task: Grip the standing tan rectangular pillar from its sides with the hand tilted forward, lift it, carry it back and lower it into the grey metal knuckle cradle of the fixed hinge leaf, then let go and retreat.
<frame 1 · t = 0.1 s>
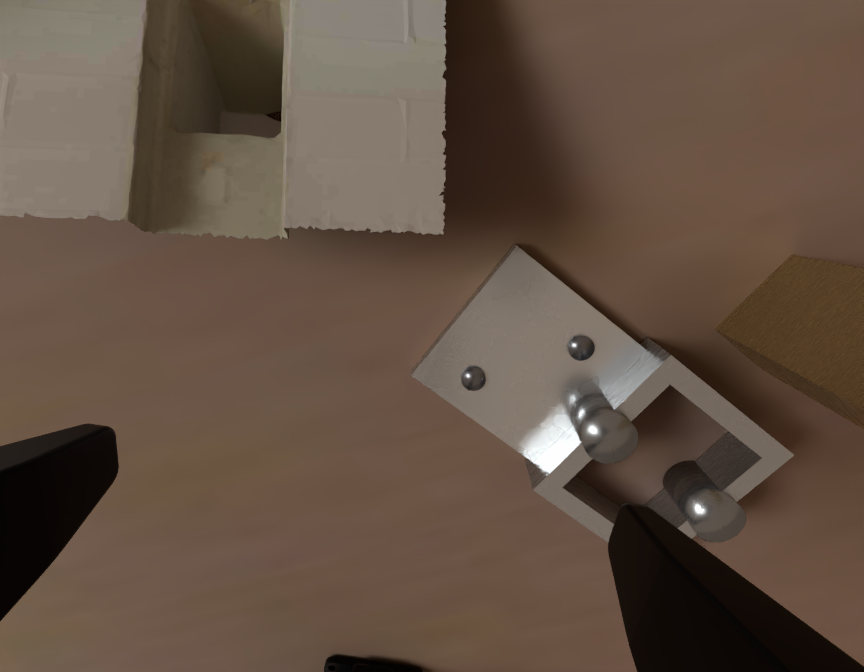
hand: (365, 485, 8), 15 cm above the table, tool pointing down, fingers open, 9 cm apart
wall: (262, 42, 19), on the table
tan rectangular pillar: (777, 315, 21), on the table
hinge base: (639, 444, 24), on the table
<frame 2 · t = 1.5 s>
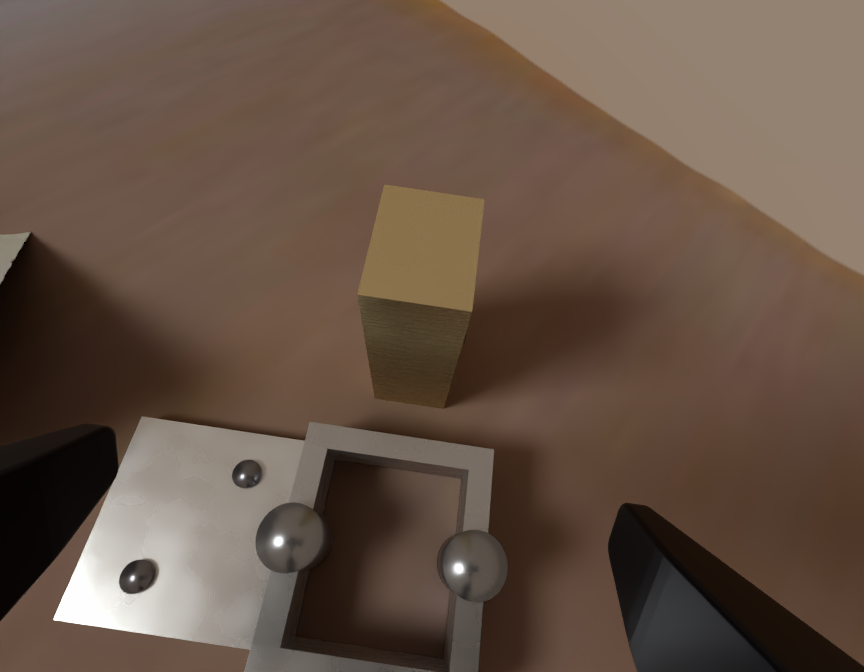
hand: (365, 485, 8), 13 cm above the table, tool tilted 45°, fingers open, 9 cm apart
tan rectangular pillar: (415, 362, 23), on the table
hinge base: (384, 551, 19), on the table
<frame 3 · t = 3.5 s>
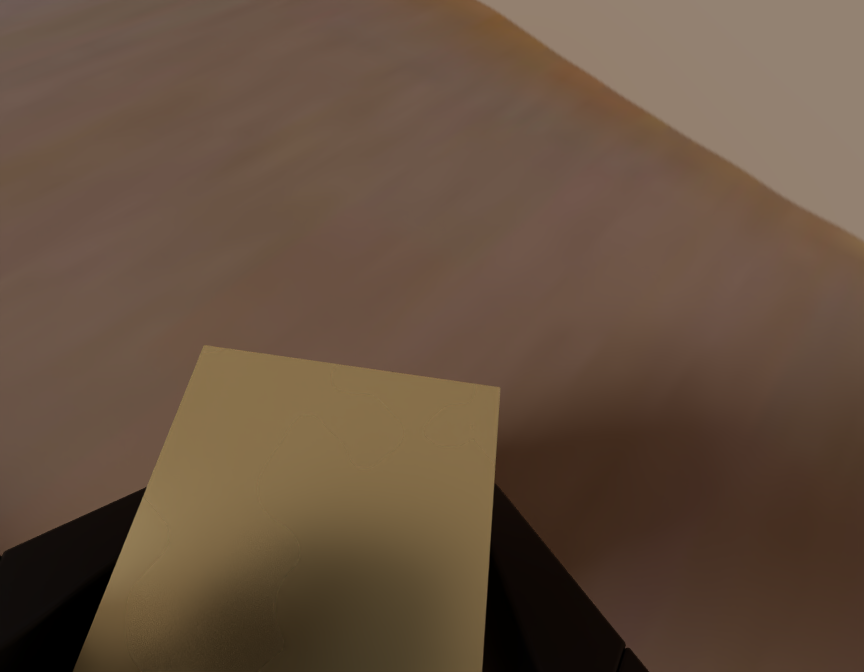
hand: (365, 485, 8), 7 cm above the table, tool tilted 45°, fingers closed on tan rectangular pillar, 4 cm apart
tan rectangular pillar: (371, 567, 13), on the table, touching gripper
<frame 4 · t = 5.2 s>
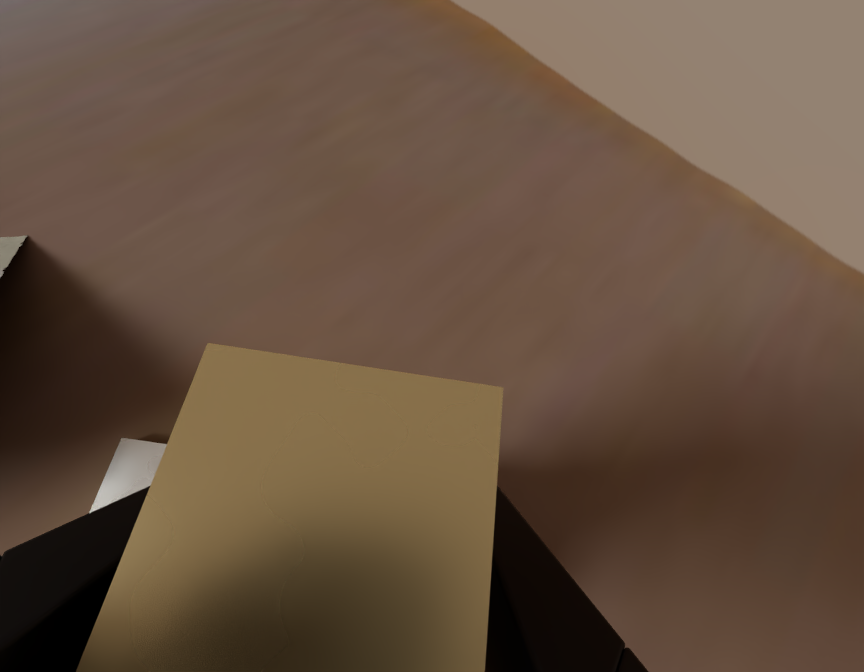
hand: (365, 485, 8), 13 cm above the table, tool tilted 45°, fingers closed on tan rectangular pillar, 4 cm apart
tan rectangular pillar: (368, 564, 13), point 6 cm above the table, touching gripper
hinge base: (377, 579, 19), on the table
when the fingers open (8 cm above the table, at t = 6.5 s): tan rectangular pillar drops 2 cm, resting in hinge base.
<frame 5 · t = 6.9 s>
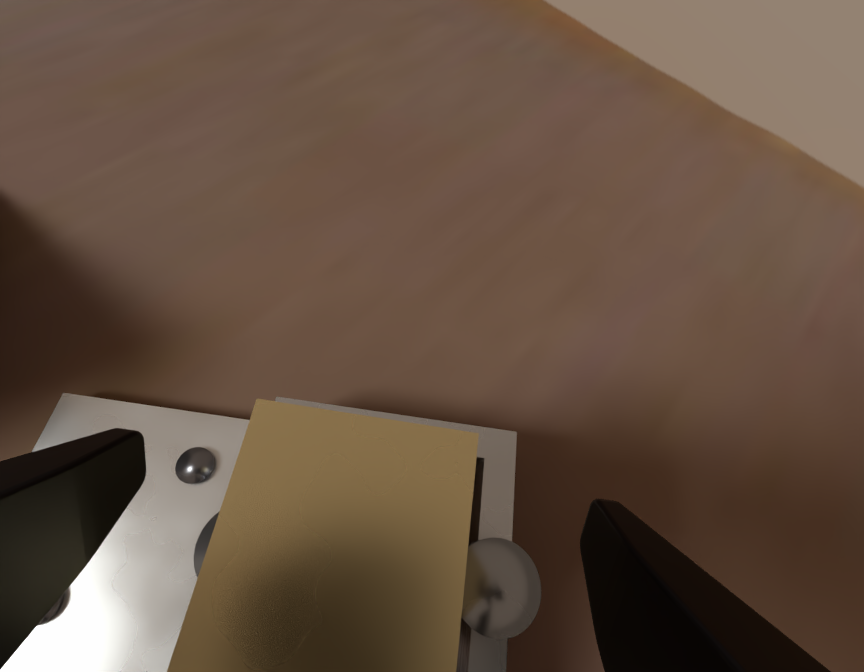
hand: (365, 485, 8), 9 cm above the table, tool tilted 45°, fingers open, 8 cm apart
tan rectangular pillar: (373, 563, 15), resting in hinge base
hinge base: (374, 565, 15), on the table
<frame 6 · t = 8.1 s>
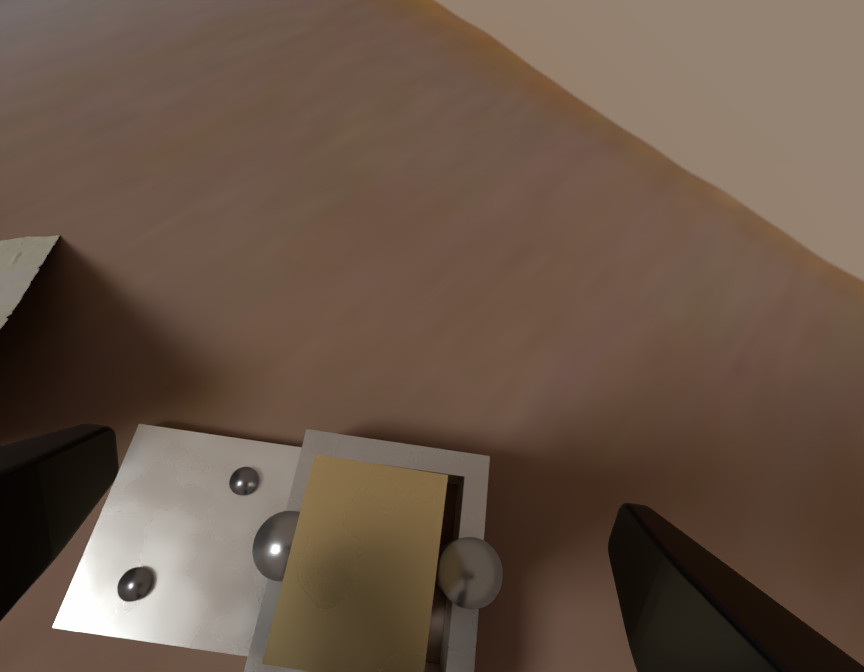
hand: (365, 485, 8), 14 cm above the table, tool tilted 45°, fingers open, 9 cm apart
tan rectangular pillar: (380, 555, 20), resting in hinge base
hinge base: (381, 557, 20), on the table
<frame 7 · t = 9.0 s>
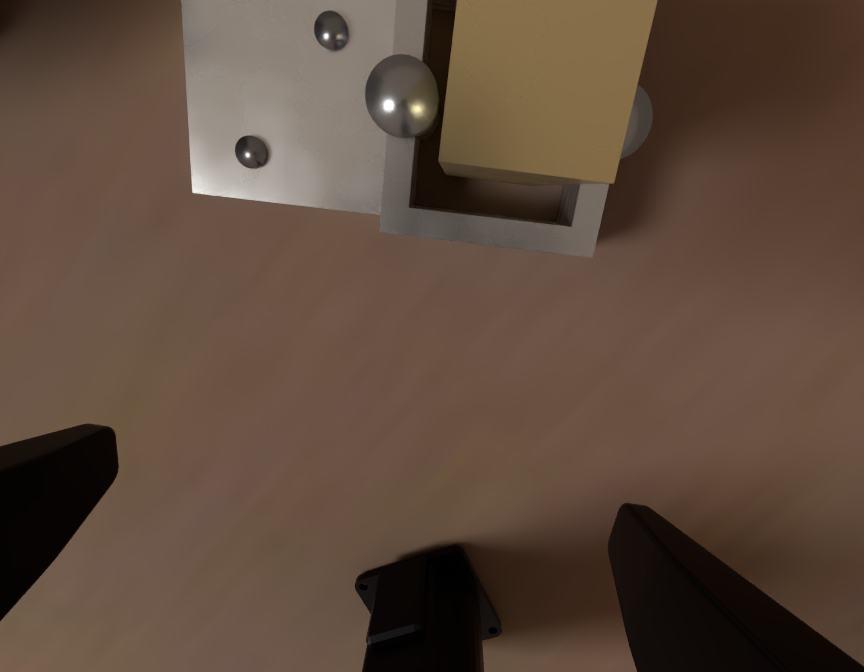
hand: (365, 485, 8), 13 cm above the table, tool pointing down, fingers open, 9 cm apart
tan rectangular pillar: (497, 120, 18), resting in hinge base
hinge base: (498, 122, 18), on the table
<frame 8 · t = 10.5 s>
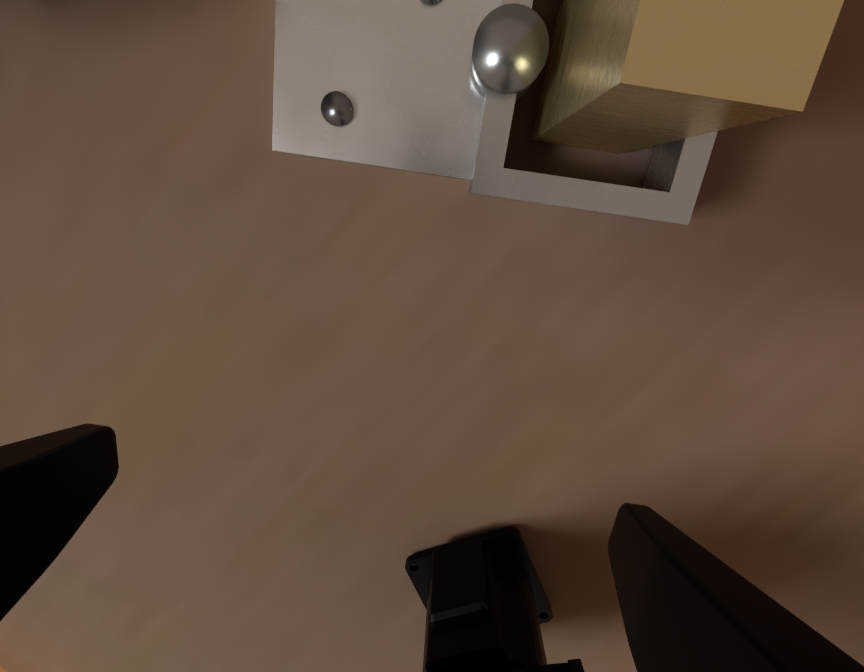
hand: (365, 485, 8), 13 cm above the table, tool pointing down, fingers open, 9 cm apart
tan rectangular pillar: (589, 84, 17), resting in hinge base
hinge base: (590, 86, 17), on the table
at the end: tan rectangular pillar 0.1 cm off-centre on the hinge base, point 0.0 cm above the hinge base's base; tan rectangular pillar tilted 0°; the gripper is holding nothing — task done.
